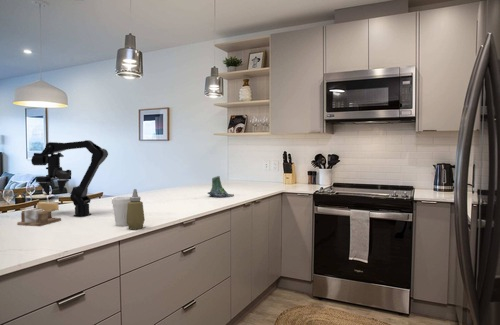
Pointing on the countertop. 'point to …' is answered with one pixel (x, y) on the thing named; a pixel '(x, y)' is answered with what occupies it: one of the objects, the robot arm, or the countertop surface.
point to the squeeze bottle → (135, 212)
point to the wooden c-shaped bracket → (46, 207)
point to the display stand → (36, 218)
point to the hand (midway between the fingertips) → (54, 193)
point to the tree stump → (218, 189)
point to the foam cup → (120, 210)
